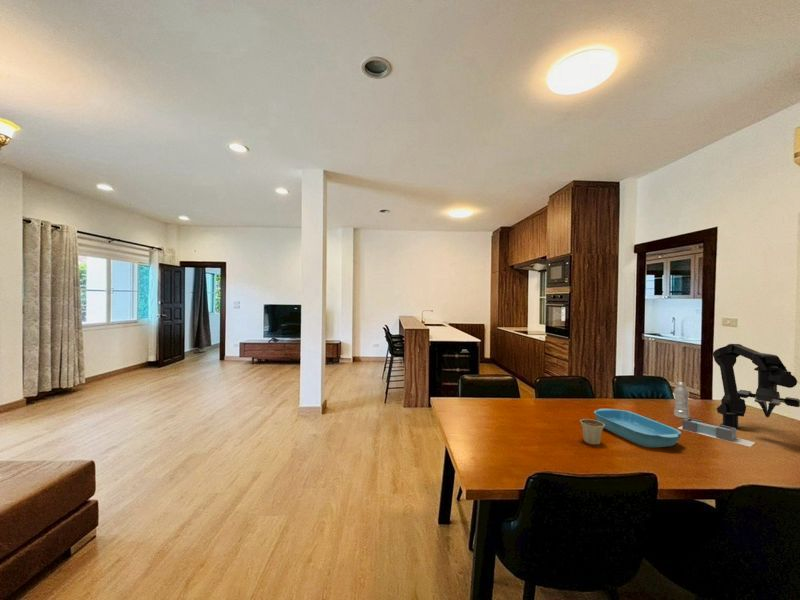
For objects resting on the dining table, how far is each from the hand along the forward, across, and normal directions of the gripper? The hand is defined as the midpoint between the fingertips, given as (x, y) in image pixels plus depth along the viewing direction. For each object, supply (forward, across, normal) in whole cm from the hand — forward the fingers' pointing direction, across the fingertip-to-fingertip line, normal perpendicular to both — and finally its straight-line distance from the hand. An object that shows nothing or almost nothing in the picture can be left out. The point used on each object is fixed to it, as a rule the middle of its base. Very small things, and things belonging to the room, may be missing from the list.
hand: (767, 417), depth 147 cm
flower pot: (+12, -42, -68) cm, 81 cm away
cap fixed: (+11, -23, -11) cm, 28 cm away
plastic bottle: (+12, -33, +9) cm, 36 cm away
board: (+12, -15, -10) cm, 22 cm away
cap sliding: (+11, -11, -11) cm, 19 cm away
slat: (+11, -17, -11) cm, 23 cm away
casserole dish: (+12, -36, -42) cm, 57 cm away
